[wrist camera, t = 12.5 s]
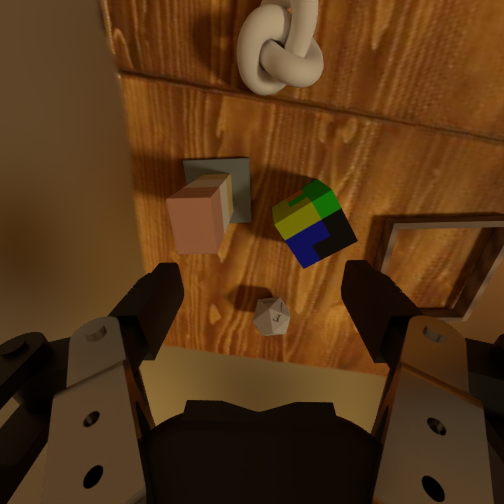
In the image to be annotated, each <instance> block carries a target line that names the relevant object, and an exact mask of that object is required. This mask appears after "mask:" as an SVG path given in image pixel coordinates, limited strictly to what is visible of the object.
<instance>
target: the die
mask: <svg viewBox="0 0 504 504" xmlns="http://www.w3.org/2000/svg"><path fill="white" fill-rule="evenodd" d="M289 320H290V312H289V310H288V309H287V307H286V305H285V304H284V302H283V301H282V299H281V297H274V298H266V299H258V302H257V306H256V310H255V314H254V318H253V322H254V324H255V325H256V327H257V328H258V329H259V331H260V332H261V333H262V335H263V336H268V335H277V334H286V331H287V328H288V324H289Z"/></svg>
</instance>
